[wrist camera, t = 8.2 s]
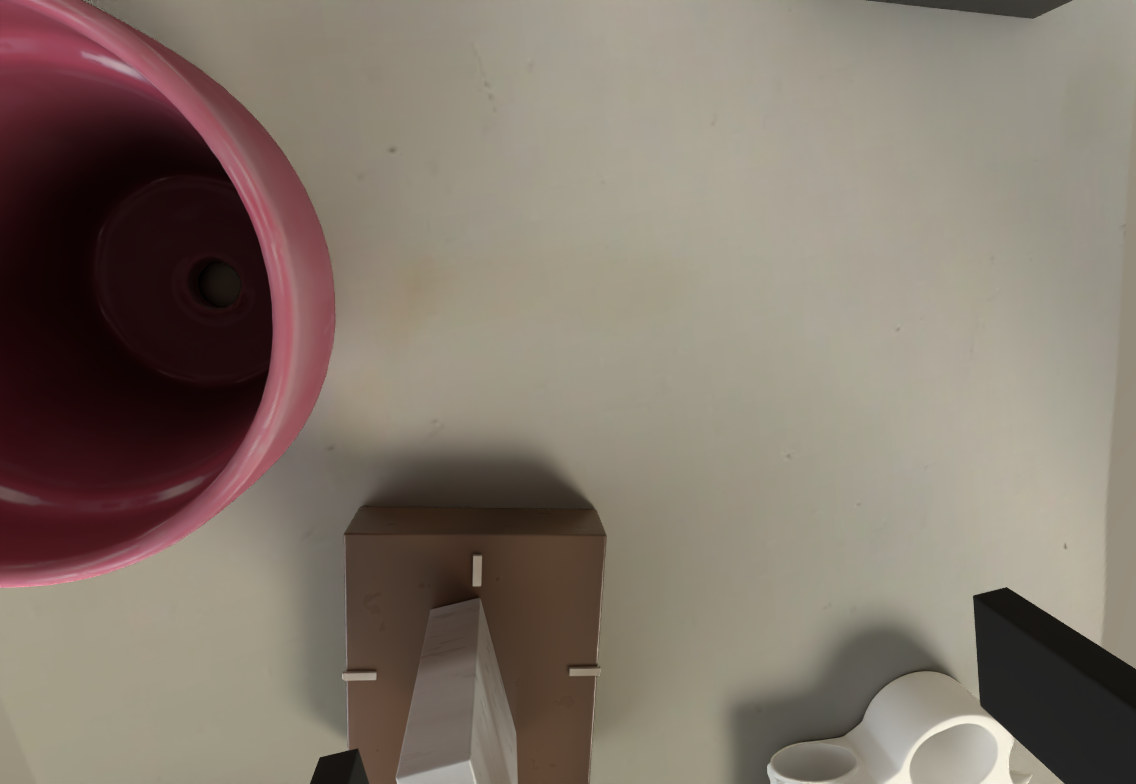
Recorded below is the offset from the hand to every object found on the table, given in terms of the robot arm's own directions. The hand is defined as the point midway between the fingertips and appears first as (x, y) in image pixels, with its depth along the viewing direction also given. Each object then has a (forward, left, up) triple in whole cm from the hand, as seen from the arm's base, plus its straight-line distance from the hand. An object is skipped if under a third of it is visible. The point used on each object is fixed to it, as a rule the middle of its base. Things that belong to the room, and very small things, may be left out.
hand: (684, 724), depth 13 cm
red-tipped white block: (+5, +8, -14) cm, 17 cm away
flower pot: (+16, -8, -17) cm, 24 cm away
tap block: (+5, +8, -17) cm, 19 cm away
